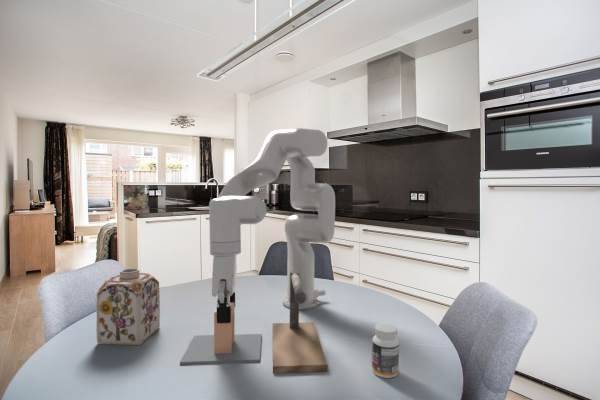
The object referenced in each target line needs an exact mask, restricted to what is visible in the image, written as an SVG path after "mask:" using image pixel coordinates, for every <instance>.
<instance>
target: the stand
mask: <svg viewBox="0 0 600 400" xmlns="http://www.w3.org/2000/svg"><path fill="white" fill-rule="evenodd" d="M305 301H306V295H305V293H304V292H303V289H302V286H301V283H300V280H299V271H290V308H289V322H273V323H272V374H285V373H286V374H287V373H288V374H289V373H311V372H312V373H315V372H328V362H327V359H326V356H325V353H324V350H323V346H322V344H321V341H320V337H319V335H318V331H317V328H316V325H315V322H313V321H312V322H307V321H306V322H300V317H299V316H300V315H299V314H300V313H299V312H300V309H299V304H302V303H304V302H305Z"/></svg>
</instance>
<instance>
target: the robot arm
mask: <svg viewBox="0 0 600 400" xmlns="http://www.w3.org/2000/svg"><path fill="white" fill-rule="evenodd" d="M327 148H328V139H327V136H326V134H325V133H324V132H323V131H322V130H320V129H313V128H312V129H311V128H310V129H309V128H303V127H301V128H300V127H298V128H297V127H296V128H286V129H277V130H273V131H271V132H270V133H269V134H268V135H267V136H266V138H265V140H264V141H263V143H262V144H261V147H260V149H259V150H258V152H257V154H256V155H255V157H254V159H253V161H252V162H251V163H250V164H249V165H248V166H246V167H245V168H243V169H242V170H241V171H239V172H238V173H236V174H235V175H234V176H233V177H231V178H230V179H229V180H228V181H227V182H226V184H225V185H224V186H223V188H222V189H221V192H220V193H219V195H218V197H216V198H215V197H214V198H213V199H211V200H210V201H209V204H208V213H209V217H208V219H209V221H208V222H209V254H210V255H211V256H213V258H212V276H211V277H212V278H211V279H212V280H211V281H212V283H211V296H212V297H216V296H217V299H216V300H217V301H216V308H217V323H230V322H231V306H229V303H230V302H235V303H236V292H235V289H236V285H237V273H238V272H237V268H238V267H237V255H239V254H241V253H242V248H241V247H242V245H241V243H242V241H241V239H242V238H241V237H242V235H241V234H242V233H241V231H242V230H241V225H256V224H259V223H260V222H262V221H263V220H264V219H265V218H266V214H267V211H268V209H267V205H266V202H265V201H264V200H263V199H262V198H260V197H258V196H254V195H247V194H249V193H250V192H252V191H253V190H256V189H258V188H260V187H264V186H266V185H268V184H271V183H272V182H274V181H276V180H277V179H278V178H279V175H280V173H281V171H282V169H283V167H284V165H285V163H286V162H287V163H288V165H289V169H290V191H289V192H290V195H289V196H290V197H289V198H290V205H291V207H292V208H293V209H295V210H298V211H305V212H307V211H309V212H311V211H312V212H317V214H303V213H299V214H298V213H296V214H293V215H290V216H289V217H288V218H286V220H285V223H284V234H285V238H286V243H287V244H286V245H287V246H286V247H287V267H286V268H287V269H286V270H287V276H286V278H287V280H286V281H287V282H286V283H287V284H286V297H284V298H283V299H282V305H283V306H284V307H286V308H288V309H290V271H299V280H300V283H301V286H302V289H303V292H304V293H305V295H306V301H305V302H304V303H302V304H299V310H307V309H313V308H315V307H318V305H319V299H318V298H319V297H322V296H325V295H326V291H325V289H321V290H319V289H315V252H314V249H313V247H312V244H311V243H314V244H315V243H317V244H328V243H330V242H331V241H333V238H334V236H335V235H334V234H335V229H336V228H335V226H336V225H335V223H336V221H335V220H336V219H335V218H336V193H335V191H334V188H333V187H332V186H331V185H330V184H328V183H316V178H315V177H316V170H315V166H314V164H313V163H312V161H311V160H310V157H321V156H323V155H324V154H325V153H326V151H327ZM308 157H309V158H308Z"/></svg>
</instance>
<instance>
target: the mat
mask: <svg viewBox="0 0 600 400" xmlns="http://www.w3.org/2000/svg"><path fill="white" fill-rule="evenodd" d="M261 346H262V333H252V334H251V333H249V334H247V333H246V334H234V343H232V351H231V353H220V354H214V334H213V335H212V334H207V335H203V334H202V335H193V336H192V339H191V341H190V343H189V344H188V346H187V348H186V349H185V352H184V353H183V355H182V358H181V359H180V361H179V365H203V364H204V365H211V364H213V365H214V364H234V363H235V364H236V363H237V364H240V363H241V364H242V363H244V364H245V363H260V360H261Z"/></svg>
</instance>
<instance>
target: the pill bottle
mask: <svg viewBox="0 0 600 400" xmlns="http://www.w3.org/2000/svg"><path fill="white" fill-rule="evenodd" d="M374 333H375V335H373V336H372V339H371V340H372V341H371V342H372V346H371V347H372V349H371V370H372V373H374V375H376V376H378V377H379V378H384V379H392V378H395V377H396V376H397V375H398V374H399V367H400V366H399V362H400V361H399V360H400V359H399V357H400V355H399V354H400V341H399V339H398V337H397V336H398V328H397V327H396V326H395V325H393V324H389V323H378V324H375V326H374Z"/></svg>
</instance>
